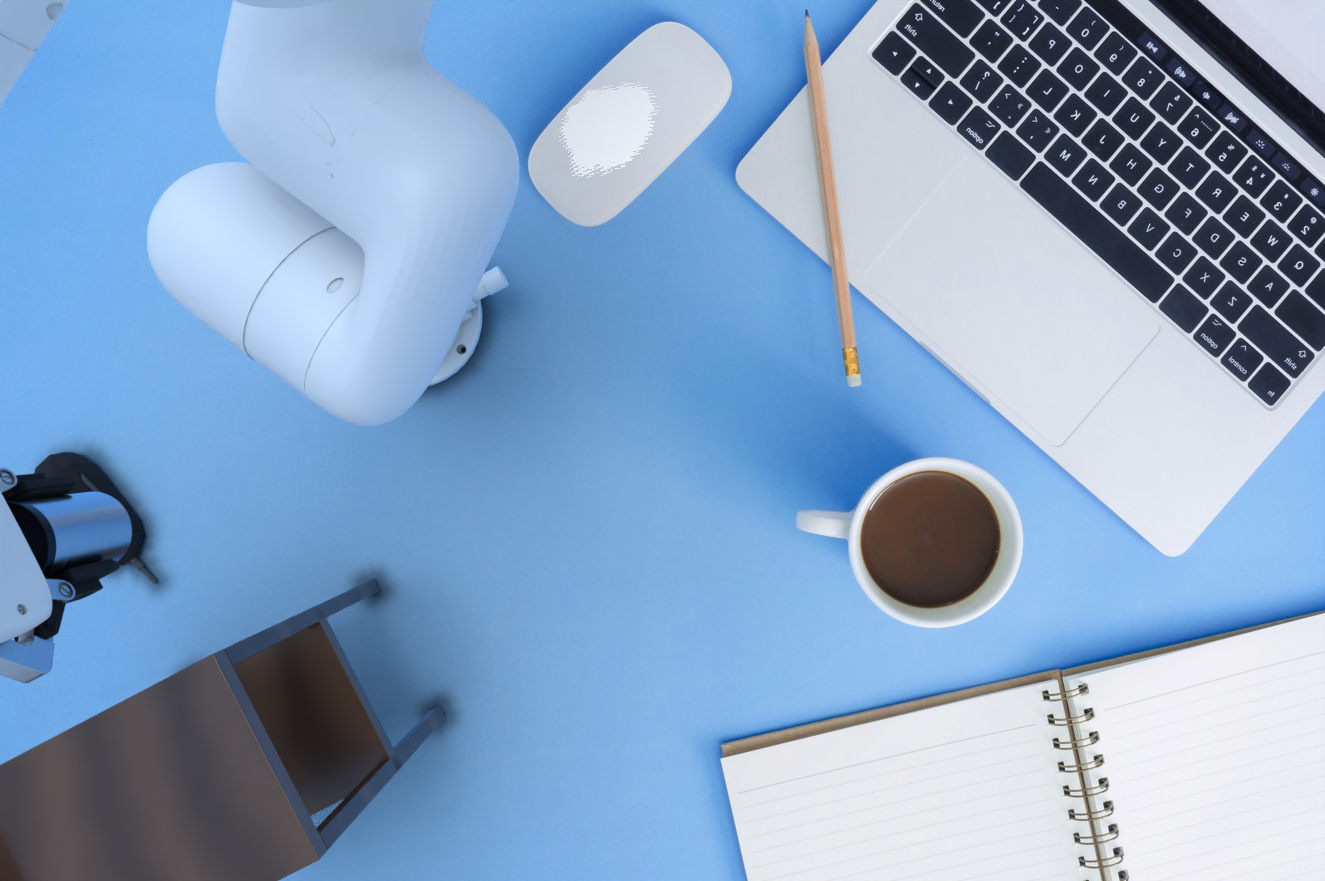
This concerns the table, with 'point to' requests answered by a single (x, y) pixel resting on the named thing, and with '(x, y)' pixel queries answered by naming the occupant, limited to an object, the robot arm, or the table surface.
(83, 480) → the gaming mouse
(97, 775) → the top shelf
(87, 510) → the steel tin
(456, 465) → the table surface
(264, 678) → the rack frame
